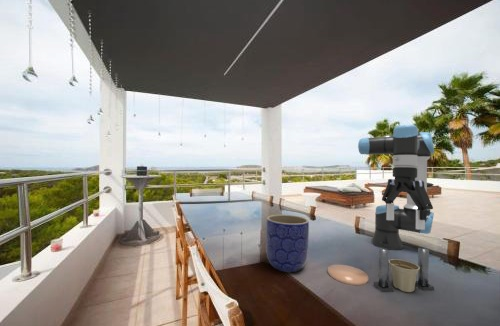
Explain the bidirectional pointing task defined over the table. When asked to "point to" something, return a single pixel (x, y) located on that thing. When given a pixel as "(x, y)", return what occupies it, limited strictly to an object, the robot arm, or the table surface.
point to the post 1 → (383, 271)
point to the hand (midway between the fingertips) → (403, 224)
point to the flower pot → (404, 274)
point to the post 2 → (423, 270)
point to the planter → (287, 242)
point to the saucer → (348, 274)
